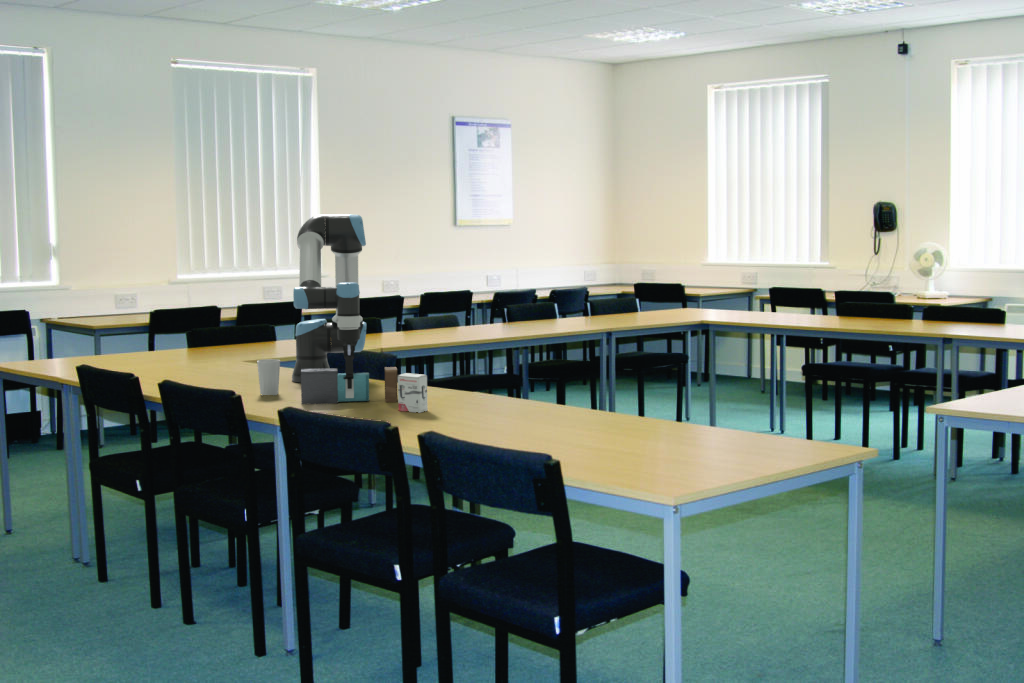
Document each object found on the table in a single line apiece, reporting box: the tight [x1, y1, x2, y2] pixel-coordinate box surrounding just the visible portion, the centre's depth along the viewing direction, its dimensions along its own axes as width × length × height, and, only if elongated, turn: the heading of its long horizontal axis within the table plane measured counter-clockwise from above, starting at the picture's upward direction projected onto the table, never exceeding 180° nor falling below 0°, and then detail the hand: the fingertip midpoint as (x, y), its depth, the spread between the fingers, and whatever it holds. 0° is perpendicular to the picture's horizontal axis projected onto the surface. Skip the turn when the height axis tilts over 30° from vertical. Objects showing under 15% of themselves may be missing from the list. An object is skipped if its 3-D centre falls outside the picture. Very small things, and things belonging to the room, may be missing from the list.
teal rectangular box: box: [337, 372, 370, 402], centre depth 368 cm, size 4×22×9 cm, turn 99°
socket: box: [384, 366, 398, 403], centre depth 371 cm, size 7×4×11 cm, turn 9°
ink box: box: [397, 372, 429, 414], centre depth 350 cm, size 9×5×12 cm, turn 62°
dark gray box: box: [300, 367, 339, 405], centre depth 367 cm, size 7×12×11 cm, turn 99°
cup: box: [256, 358, 281, 396], centre depth 384 cm, size 8×8×12 cm
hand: (349, 396), depth 369 cm, fingers closed on teal rectangular box, 4 cm apart
